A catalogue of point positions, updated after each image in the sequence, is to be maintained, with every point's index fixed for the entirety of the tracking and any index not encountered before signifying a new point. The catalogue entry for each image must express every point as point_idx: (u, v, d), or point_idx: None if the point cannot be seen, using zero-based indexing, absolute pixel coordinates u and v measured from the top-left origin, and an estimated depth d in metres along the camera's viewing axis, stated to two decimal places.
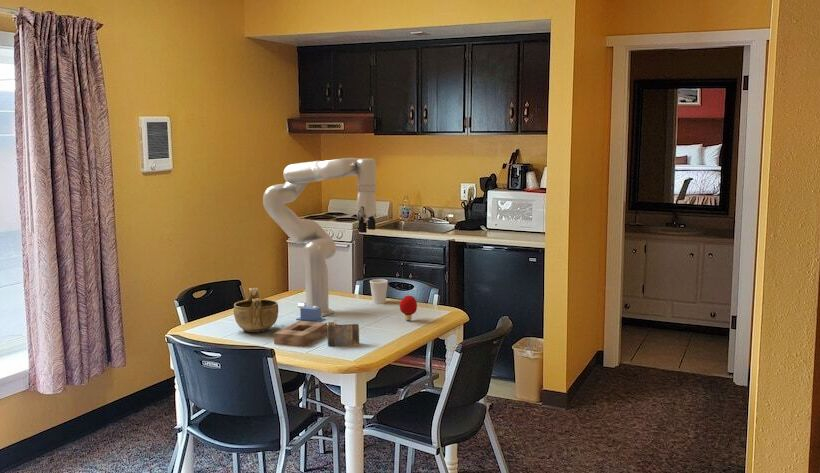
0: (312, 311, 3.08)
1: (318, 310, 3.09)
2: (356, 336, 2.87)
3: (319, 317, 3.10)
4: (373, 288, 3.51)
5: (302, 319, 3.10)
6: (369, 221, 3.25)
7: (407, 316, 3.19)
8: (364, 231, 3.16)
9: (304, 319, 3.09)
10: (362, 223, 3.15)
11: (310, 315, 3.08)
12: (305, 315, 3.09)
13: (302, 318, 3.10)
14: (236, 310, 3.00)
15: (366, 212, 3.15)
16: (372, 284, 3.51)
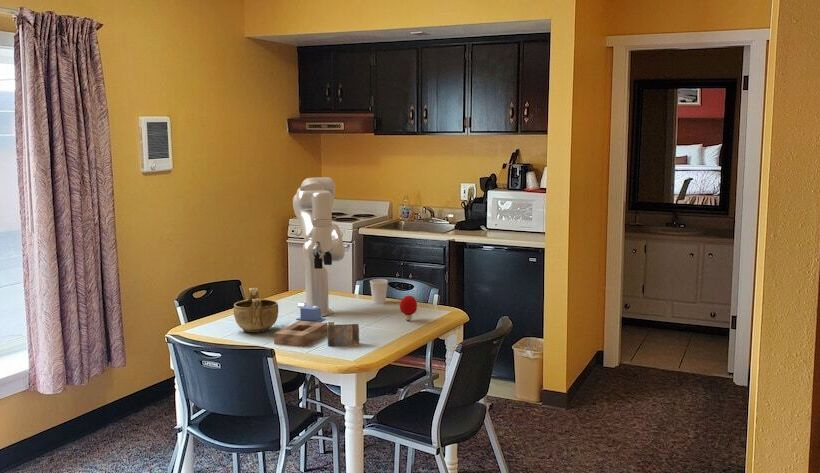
0: (312, 311, 3.08)
1: (318, 310, 3.09)
2: (356, 336, 2.87)
3: (319, 317, 3.10)
4: (373, 288, 3.51)
5: (302, 319, 3.10)
6: (325, 256, 3.14)
7: (407, 316, 3.19)
8: (320, 267, 3.05)
9: (304, 319, 3.09)
10: (318, 259, 3.04)
11: (310, 315, 3.08)
12: (305, 315, 3.09)
13: (302, 318, 3.10)
14: (236, 310, 3.00)
15: (322, 247, 3.04)
16: (372, 284, 3.51)
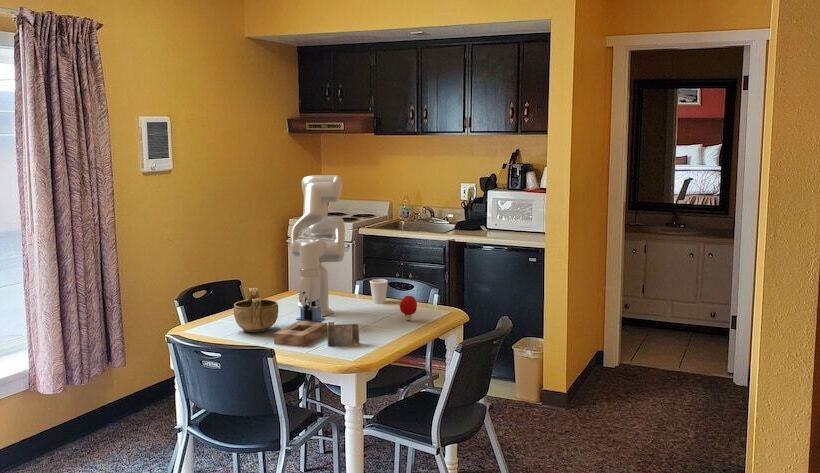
0: (312, 311, 3.08)
1: (318, 310, 3.09)
2: (356, 336, 2.87)
3: (319, 317, 3.10)
4: (373, 288, 3.51)
5: (302, 319, 3.10)
6: None
7: (407, 316, 3.19)
8: (309, 318, 3.08)
9: (304, 319, 3.09)
10: (307, 310, 3.07)
11: None
12: None
13: (302, 318, 3.09)
14: (236, 310, 3.00)
15: (308, 297, 3.04)
16: (372, 284, 3.51)
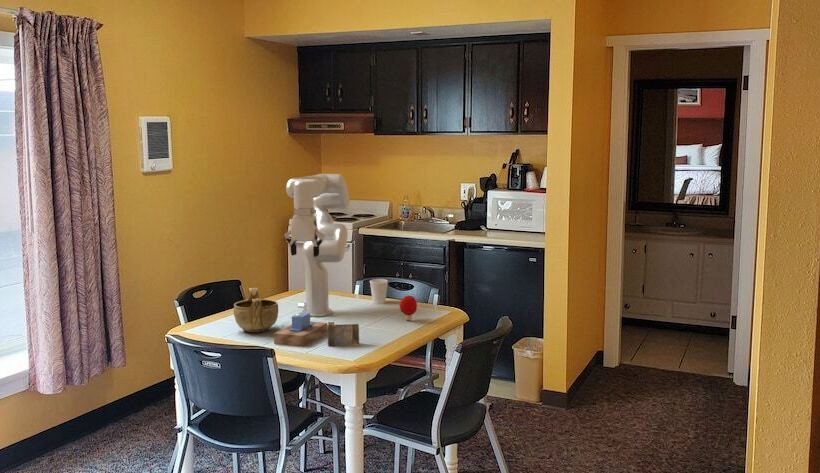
0: None
1: (296, 319, 2.91)
2: (356, 336, 2.87)
3: (298, 327, 2.91)
4: (373, 288, 3.51)
5: None
6: None
7: (407, 316, 3.19)
8: None
9: None
10: None
11: None
12: None
13: None
14: (236, 310, 3.00)
15: (291, 235, 3.09)
16: (372, 284, 3.51)
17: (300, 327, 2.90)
